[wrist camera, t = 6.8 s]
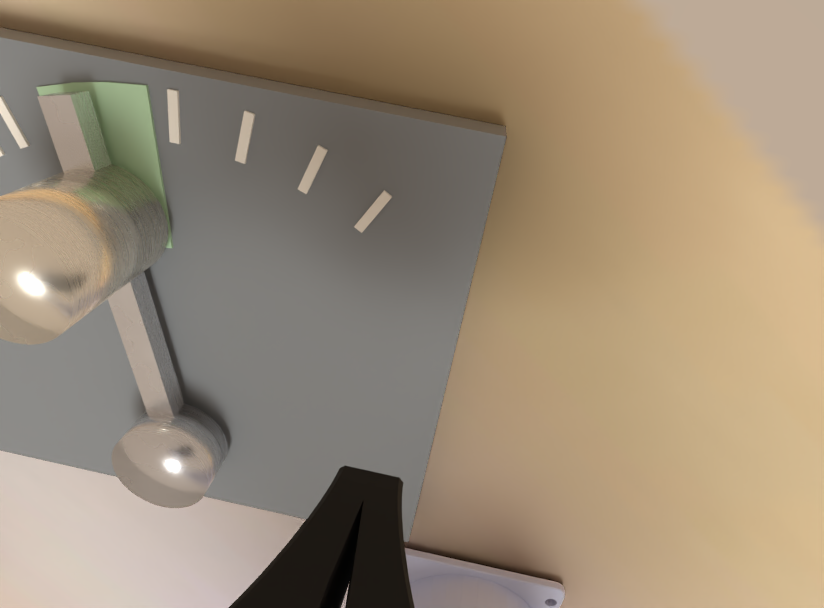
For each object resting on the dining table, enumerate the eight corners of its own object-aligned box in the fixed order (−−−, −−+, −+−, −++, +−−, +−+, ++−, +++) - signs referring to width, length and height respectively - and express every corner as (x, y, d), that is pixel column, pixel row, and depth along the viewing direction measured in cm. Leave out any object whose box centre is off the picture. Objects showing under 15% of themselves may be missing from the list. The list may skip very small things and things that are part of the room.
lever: (236, 475, 22) (180, 578, 18) (153, 470, 23) (80, 569, 19) (131, 89, 16) (5, 118, 12) (16, 94, 16) (-141, 124, 12)
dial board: (413, 514, 25) (408, 544, 24) (6, 423, 26) (-23, 447, 24) (505, 126, 17) (506, 137, 15) (-98, 7, 17) (-150, 8, 16)
